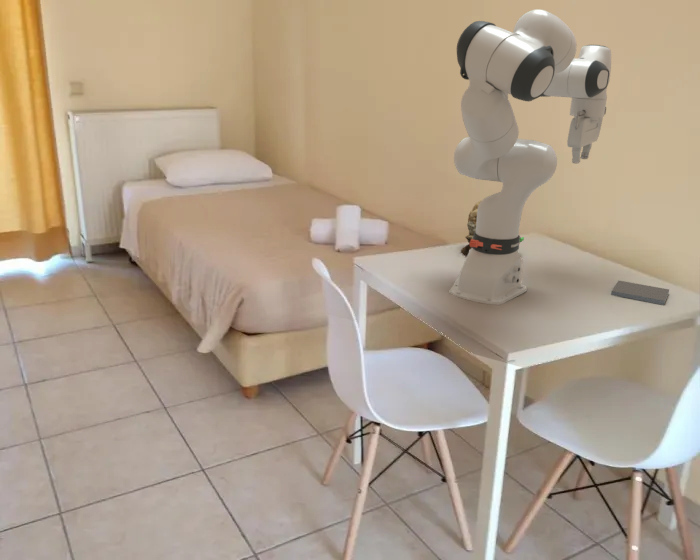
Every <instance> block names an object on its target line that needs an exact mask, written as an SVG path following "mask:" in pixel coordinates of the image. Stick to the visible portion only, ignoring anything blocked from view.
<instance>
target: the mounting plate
mask: <svg viewBox="0 0 700 560" xmlns="http://www.w3.org/2000/svg"><path fill="white" fill-rule="evenodd" d="M669 293H670V288H663V287H658V286H652V285H648V284H647V285H646V284H643V283H641V284H640V283H636V282H629V281H624V280H620V279H619V280H617V281H616V283H615V285H614V287H613V288H612V290H611V294H610V295H611V296H615V297H619V298H625V299H628V300H629V299H630V300H634V301H640V302H646V303H650V304H656V305H661V306H665V304H666V301H667V299H668V296H669Z"/></svg>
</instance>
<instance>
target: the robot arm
mask: <svg viewBox="0 0 700 560" xmlns="http://www.w3.org/2000/svg"><path fill="white" fill-rule="evenodd" d="M577 46H578V45H577V40H576V35H575V34H574V32H573V31H572V29H571V28H570V27H569V26H568V24H566V22H564V21H563V20H562V19H561V18H560V17H559V16H557V15H556V14H554V13H552V12H549V11H548V10H545V9H539V8H538V9H536V8H535V9H531V10H530V11H526V13H524V14H523V15H521V16H520V17H519V19H518V20H517V22H516V23H515V25H514V28H513V31H509V30H507V29H505V28H502V27H499V26H497V25H496V24H495V23H493V22H490V21H485V20H484V21H483V20H476V21H474V22H472V23H471V24H469V25H468V26H466V28H465V29H464V30H463V31H462V33H461V34H460V36H459V38H458V40H457V45H456V59H457V64H458V67H460V71H459V74H460V76H461V78H462V79H464V80H467V81H469V85H468V86H467V89H466V90H465V91H464V92H463V95H462V97H461V100H460V107H461V108H460V110H461V117H462V122H463V126H464V128H465V130H466V131H465V132H466V133H467V134H468V135H467V137H464V138H462V139H461V141H459V143H458V144H457V146H456V147H455V149H454V152H453V153H454V154H453V163H454V166H455V169H456V170H457V172H458V173H459V174H460V175H463V176H465V177H468V178H470V179H471V178H472V179H475V180H482V181H489V182H497V183H498V182H499V183H502V189H500V190H501V191H499V192H496V193H492V194H491V195H488V196H486V197H484V198H483V199H482V200H480V201H481V202H480V204H479V206H478V210H477V221H476V231H475V232H474V235H473V238H472V239H471V240H470V247H472V248H471V249H470V250H469V253H468V255H467V256H466V258H465V261H464V263H463V265H462V267H461V270H460V273H459V275H458V276H457V277H456V279H455V281H454V283H453V284H452V285H451V288H450V289H449V291H448V292H449V294H451V295H453V296H455V297H457V298H460V299H464V300H467V301H471V302H474V303H481V304H487V305H498V306H499V305H503V304H505V303H507V302H509V301H511V300H512V299H514V298H516V297H518V296H520V295H522V294H524V293H527V290H528V288H527V286H526V285H524V284H522V282H523V266H524V264H523V263H524V260H523V258H522V257H521V255H520V254H519V248H520V243H521V242H520V237H521V236H520V234H519V233H520V225H521V218H522V213H523V210H524V207H525V204H526V202H527V201H528V198H529V197H530V196H531V194H533V192H535V190H536V189H538V188H539V187H541V186H543V185H544V184H546V183H547V182H549V181H550V180H551V178H552V177H553V176H554V174H555V172H556V170H557V166H558V158H557V157H558V156H557V154H556V151H555V150H554V148H553V146H552V145H550V144H547V143H543V142H541V141H537V140H534V139H523V138H519V133H520V131H519V126H518V122H517V120H516V117H515V113H514V110H513V108H512V105H511V102H510V101H509V95H510V96H512V98H514V99H516V100H520V101H523V102H532V101H534V100H536V99H538V98H540V97H546V98H548V97H558V98H559V97H560V98H571V102H570V108H569V116H573V118H572V119H571V121H570V125H569V129H568V130H569V131H568V136H567V139H566V140H567V141H566V142H567V147H568V148H571V154H572V159H571V163H572V164H580V163H581V160H588V159H589V157H590V152H591V149H592V145H593V143H595V142H597V141H598V139H599V137H600V136H599V135H600V132H601V130H602V129H601V128H602V124H603V119H604V117H605V115H606V113H607V106H606V105H607V98H608V97H607V96H608V95H607V90H608V86H609V83H610V80H611V71H612V50H611V49H610V48H609V47H608V46H605V45H601V44H587V45H584V46H582V47H581V48H580V51H579V54H578V58H575V56H576V53H577Z"/></svg>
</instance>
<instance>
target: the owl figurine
mask: <svg viewBox="0 0 700 560" xmlns="http://www.w3.org/2000/svg"><path fill="white" fill-rule="evenodd" d="M481 201H482V200H479V201H477V202H475V204H474V206H473V207H472V209H471V210H470V212H469V214H468V218H467V224H466V226H467V229H468V235H466V236H465V239H466V240H467V242H468V244H466V245H465V246H463V248H461V250H460V253H461V254H462V255H464V256H466V257H467V255H468V253H469V250H470V249H471V248H472V247H470V240H471V239H472V238H473V235H474V232H475V231H476V221H477V210H478V206H479V204H480V202H481Z"/></svg>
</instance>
